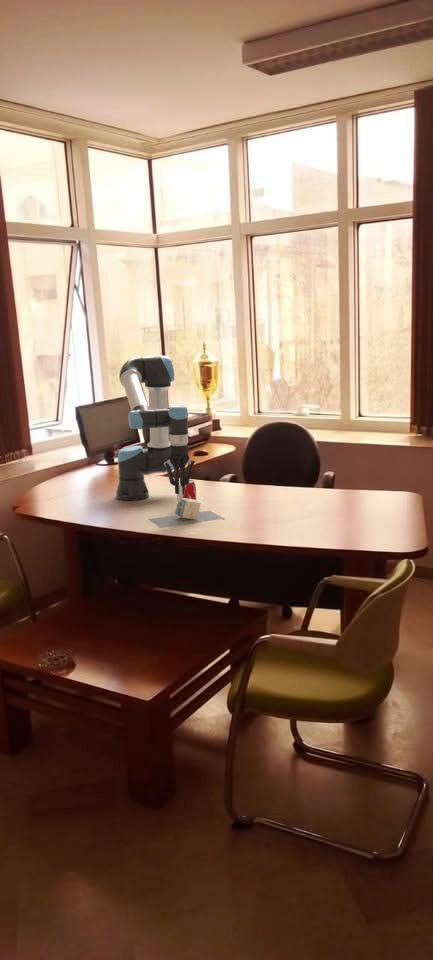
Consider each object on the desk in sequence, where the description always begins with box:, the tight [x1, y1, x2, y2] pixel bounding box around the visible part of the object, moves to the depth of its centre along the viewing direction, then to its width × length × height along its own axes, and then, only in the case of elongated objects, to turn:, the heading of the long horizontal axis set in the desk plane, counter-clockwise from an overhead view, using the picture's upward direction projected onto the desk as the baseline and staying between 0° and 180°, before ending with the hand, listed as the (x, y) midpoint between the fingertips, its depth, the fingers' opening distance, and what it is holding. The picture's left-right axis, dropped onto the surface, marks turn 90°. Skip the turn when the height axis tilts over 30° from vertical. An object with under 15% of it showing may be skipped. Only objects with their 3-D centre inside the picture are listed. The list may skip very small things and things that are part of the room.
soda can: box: [182, 479, 197, 501], centre depth 334 cm, size 7×7×12 cm
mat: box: [147, 510, 225, 529], centre depth 317 cm, size 15×28×1 cm, turn 114°
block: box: [174, 498, 201, 520], centre depth 317 cm, size 7×7×7 cm
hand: (179, 501), depth 315 cm, fingers closed
